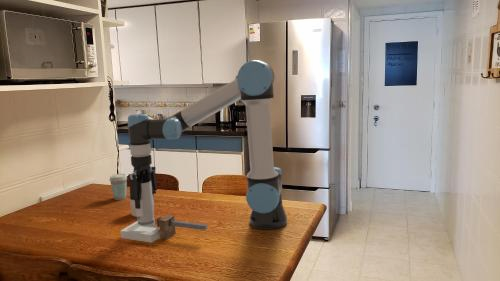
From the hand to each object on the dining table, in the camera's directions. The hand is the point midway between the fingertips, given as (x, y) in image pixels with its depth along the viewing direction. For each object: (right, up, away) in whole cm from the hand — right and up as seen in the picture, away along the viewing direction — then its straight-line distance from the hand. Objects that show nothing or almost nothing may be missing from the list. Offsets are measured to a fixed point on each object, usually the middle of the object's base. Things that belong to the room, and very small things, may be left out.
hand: (145, 212), depth 151 cm
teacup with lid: (-7, -5, +25) cm, 26 cm away
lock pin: (+15, -5, -5) cm, 16 cm away
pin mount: (+9, -8, -2) cm, 13 cm away
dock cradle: (0, -8, +1) cm, 8 cm away
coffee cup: (-26, -2, +47) cm, 53 cm away
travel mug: (0, -4, +1) cm, 4 cm away
